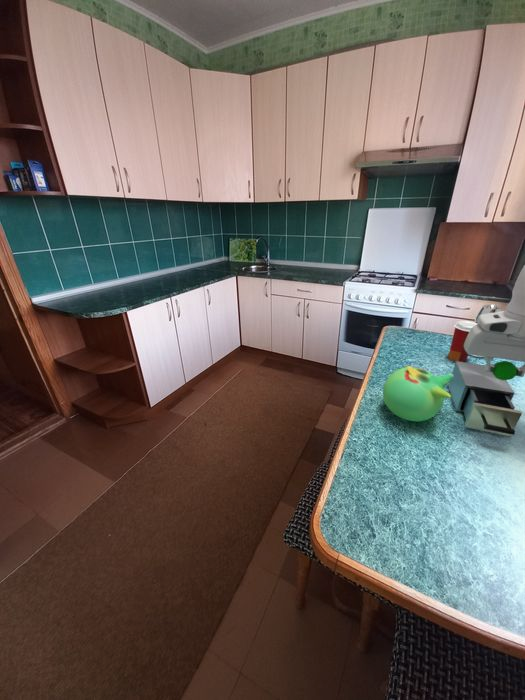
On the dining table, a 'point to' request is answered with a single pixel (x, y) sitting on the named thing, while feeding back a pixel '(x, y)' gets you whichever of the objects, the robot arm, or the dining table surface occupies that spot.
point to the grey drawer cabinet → (474, 382)
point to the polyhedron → (505, 370)
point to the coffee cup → (460, 341)
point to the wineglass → (486, 310)
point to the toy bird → (415, 393)
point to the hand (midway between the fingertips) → (502, 373)
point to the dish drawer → (490, 412)
